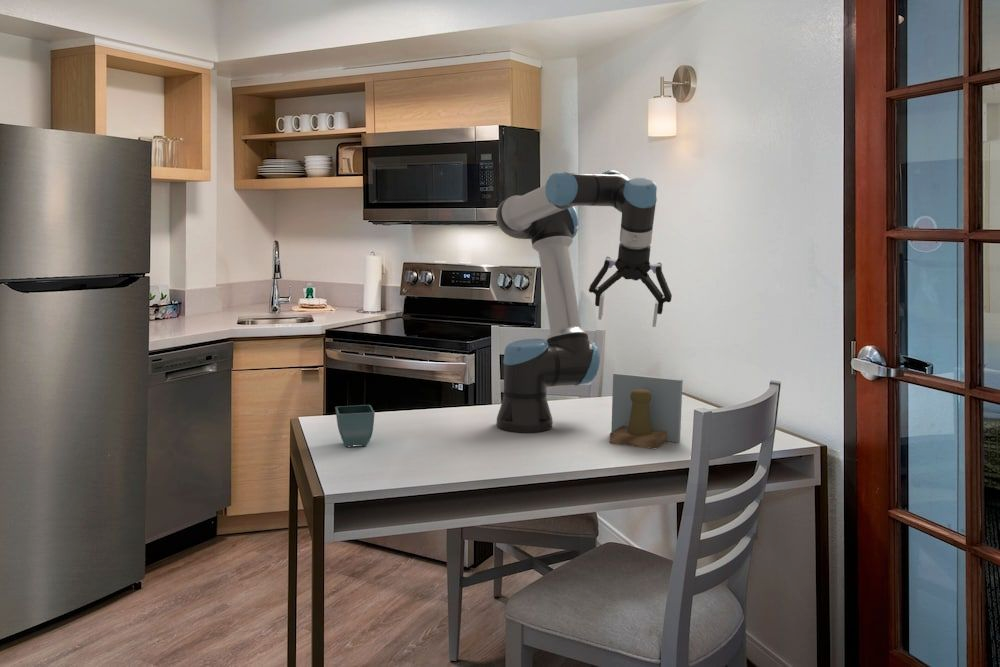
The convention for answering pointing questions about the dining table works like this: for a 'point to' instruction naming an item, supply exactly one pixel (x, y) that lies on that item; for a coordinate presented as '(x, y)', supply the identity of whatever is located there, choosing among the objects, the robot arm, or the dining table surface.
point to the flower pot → (355, 424)
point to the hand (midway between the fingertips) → (627, 320)
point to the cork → (640, 413)
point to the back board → (661, 405)
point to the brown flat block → (638, 438)
